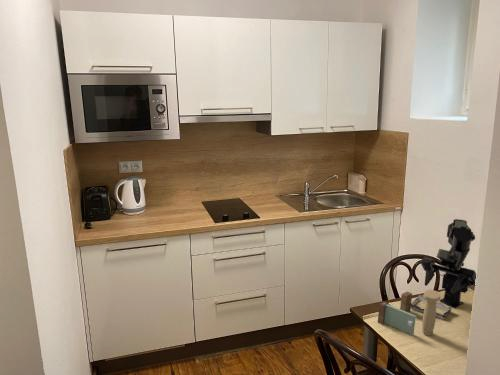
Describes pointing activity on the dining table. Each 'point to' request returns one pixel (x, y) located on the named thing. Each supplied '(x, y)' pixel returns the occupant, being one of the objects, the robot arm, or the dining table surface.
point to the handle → (430, 311)
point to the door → (399, 319)
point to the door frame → (405, 306)
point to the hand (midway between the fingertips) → (437, 289)
